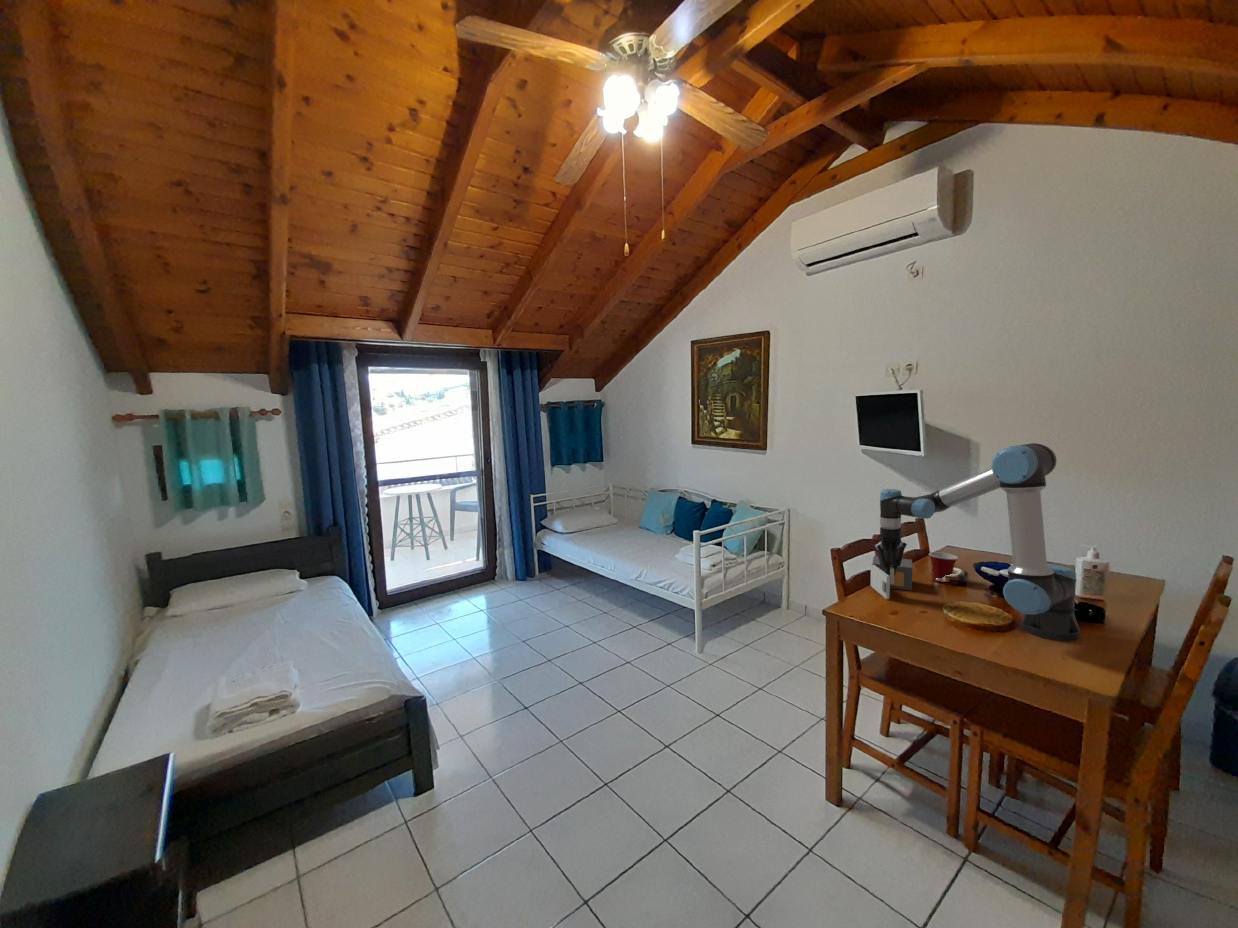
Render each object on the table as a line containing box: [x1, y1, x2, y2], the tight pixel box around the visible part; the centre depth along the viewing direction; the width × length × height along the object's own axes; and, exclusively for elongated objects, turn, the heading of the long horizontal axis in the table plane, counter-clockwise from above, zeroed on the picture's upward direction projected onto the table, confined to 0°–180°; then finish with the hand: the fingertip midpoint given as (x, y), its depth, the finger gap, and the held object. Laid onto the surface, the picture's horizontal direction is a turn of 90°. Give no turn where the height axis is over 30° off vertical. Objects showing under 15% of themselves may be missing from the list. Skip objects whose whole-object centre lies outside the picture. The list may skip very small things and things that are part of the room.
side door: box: [870, 563, 891, 600], centre depth 208 cm, size 2×16×10 cm, turn 175°
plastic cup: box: [928, 551, 959, 579], centre depth 218 cm, size 11×11×12 cm
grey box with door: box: [871, 555, 913, 592], centre depth 218 cm, size 14×15×10 cm
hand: (890, 582), depth 205 cm, fingers closed
